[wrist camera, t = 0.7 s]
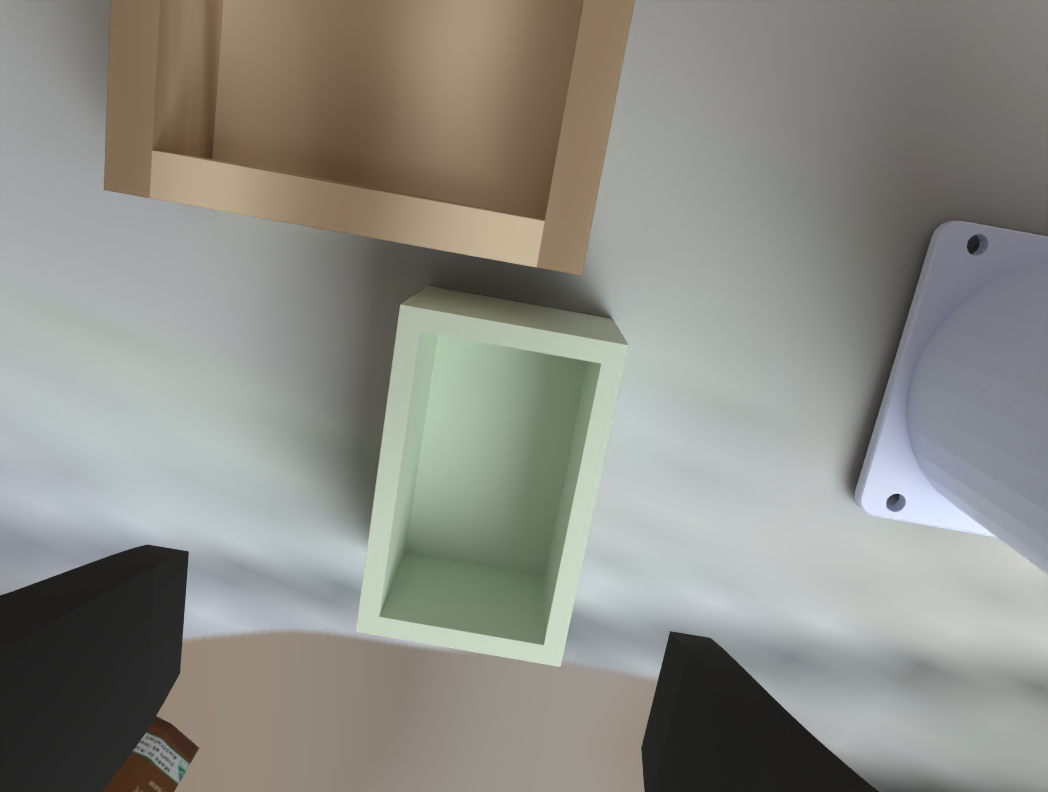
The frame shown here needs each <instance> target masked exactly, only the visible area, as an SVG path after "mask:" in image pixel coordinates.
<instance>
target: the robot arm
mask: <svg viewBox="0 0 1048 792" xmlns="http://www.w3.org/2000/svg"><path fill="white" fill-rule="evenodd" d="M974 235H976V236H977V237H978V238H979V240H980V242H979V247H978V249H977V251H975V252H974V253H972V254H970V253H969V252H968V250H967V242H968V241H969V239H970V238H971V237H972V236H974ZM893 494H899V500H898V501H897V503H896V504H894V505H893V506H886V501H887V499H888V498H889V496H891V495H893ZM854 499H855V502H856V504H857V505H858V506H859V507H860V508H861V509H862V510H863V511H864V512H865V513H866V514H869V515H871V516H876V517H882V518H888V519H893V520H899V521H905V522H910V523H916V524H922V525H927V526H933V527H939V528H944V529H950V530H956V531H961V532H967V533H973V534H979V535H984V536H990V537H996V538H999V539H1000V540H1001V541H1003V542H1004V543H1006V544H1007V545H1008V546H1010V547H1011V548H1012V549H1014V550H1015V551H1016V552H1018V553H1019V554H1021V555H1022V556H1023V557H1025V558H1026V559H1027V560H1029V561H1030V562H1031V563H1033V564H1034V565H1036V566H1037V567H1038V568H1040V569H1041V570H1042V571H1044V572H1045V573H1046V574H1048V236H1043V235H1037V234H1032V233H1026V232H1021V231H1015V230H1010V229H1004V228H999V227H993V226H988V225H982V224H977V223H971V222H966V221H948V222H945V223H943V224H941V225H940V226H939V227H938V228H937V229H936V230H935V232H934V234H933V235H932V238H931V241H930V244H929V248H928V251H927V254H926V258H925V261H924V264H923V267H922V271H921V274H920V277H919V281H918V284H917V287H916V291H915V294H914V297H913V301H912V304H911V307H910V311H909V314H908V317H907V321H906V324H905V327H904V331H903V334H902V337H901V341H900V344H899V347H898V350H897V354H896V357H895V360H894V364H893V367H892V370H891V374H890V377H889V380H888V384H887V387H886V390H885V394H884V397H883V400H882V404H881V407H880V410H879V414H878V417H877V420H876V424H875V427H874V430H873V434H872V437H871V440H870V443H869V447H868V450H867V453H866V457H865V460H864V463H863V467H862V470H861V473H860V477H859V480H858V483H857V487H856V490H855V497H854ZM188 554H189V551H183V550H177V549H171V548H165V547H159V546H153V545H144V546H140V547H136V548H133V549H129V550H126V551H123V552H120V553H117V554H114V555H111V556H108V557H106V558H103V559H100V560H97V561H94V562H92V563H89V564H86V565H84V566H81V567H78V568H75V569H73V570H70V571H67V572H65V573H62V574H59V575H56V576H54V577H51V578H48V579H45V580H43V581H40V582H37V583H35V584H32V585H29V586H26V587H24V588H21V589H18V590H15V591H13V592H10V593H7V594H4V595H1V596H0V792H102V791H103V790H104V789H105V787H106V786H107V785H108V783H109V782H110V781H111V779H112V778H113V777H114V775H115V774H116V773H117V771H118V770H119V769H120V767H121V766H122V765H123V763H124V762H125V761H126V759H127V758H128V757H129V755H130V754H131V753H132V751H133V750H134V749H135V747H136V746H137V745H138V743H139V742H140V741H141V739H142V738H143V736H144V735H145V734H146V732H147V730H148V729H149V727H150V725H151V724H152V722H153V720H154V718H155V717H156V715H157V713H158V712H159V710H160V708H161V707H162V705H163V703H164V701H165V699H166V698H167V696H168V694H169V692H170V690H171V689H172V687H173V685H174V683H175V681H176V679H177V678H178V676H179V674H180V664H181V651H182V637H183V624H184V610H185V596H186V582H187V568H188ZM641 749H642V763H643V777H644V789H645V792H879V791H877V790H876V789H875V788H874V787H872V786H871V785H870V784H869V783H867V782H866V781H865V780H864V779H862V778H861V777H860V776H859V775H858V774H856V773H855V772H854V771H853V770H852V769H851V768H850V767H848V766H847V765H846V764H845V763H844V762H843V761H841V760H840V759H839V758H838V757H837V756H836V755H834V754H833V753H832V752H831V751H830V750H829V749H828V748H826V747H825V746H824V745H823V744H822V743H821V742H820V741H818V740H817V739H816V738H815V737H814V736H813V735H812V734H811V733H810V732H809V731H808V730H806V729H805V728H804V727H803V726H802V725H801V724H800V723H799V722H798V721H797V720H796V719H795V718H794V717H793V716H791V715H790V714H789V713H788V712H787V711H786V710H785V709H784V708H783V707H782V706H781V705H780V704H779V703H778V702H777V701H776V700H775V699H774V698H773V697H772V696H771V695H770V694H769V693H768V692H767V691H766V690H765V689H764V688H763V687H762V686H761V685H760V684H759V683H758V682H757V681H756V680H755V679H754V678H753V677H752V676H751V675H750V674H749V673H748V672H747V671H746V670H745V669H744V668H743V667H741V666H740V665H739V664H738V663H737V662H736V661H735V660H734V659H733V658H732V657H731V656H730V655H729V654H728V653H727V652H726V651H725V650H724V649H723V648H722V647H721V646H719V645H718V644H717V643H716V642H715V641H713V640H712V639H711V638H707V637H701V636H695V635H689V634H683V633H677V632H671V631H670V634H669V638H668V642H667V646H666V650H665V654H664V658H663V662H662V667H661V671H660V675H659V679H658V683H657V687H656V691H655V695H654V699H653V703H652V707H651V711H650V715H649V719H648V723H647V728H646V731H645V735H644V739H643V744H642V748H641Z"/></svg>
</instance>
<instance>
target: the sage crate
mask: <svg viewBox="0 0 1048 792" xmlns="http://www.w3.org/2000/svg"><path fill="white" fill-rule="evenodd" d="M628 346H629V345H628V343H627V342H626V340H625V338H624V337H623V335H622V333H621V332H620V330H619V328H618V327H617V325H616V323H615V322H614V320H613V319H611V318H606V317H600V316H594V315H589V314H583V313H578V312H572V311H566V310H561V309H555V308H550V307H544V306H538V305H533V304H527V303H522V302H516V301H510V300H505V299H499V298H494V297H488V296H482V295H477V294H471V293H466V292H460V291H454V290H449V289H443V288H438V287H432V286H427V287H426V288H424V289H423V290H421V291H420V292H418V293H417V294H415V295H414V296H412V297H411V298H409V299H408V300H406V301H405V302H403V303H402V304H400V310H399V317H398V324H397V332H396V339H395V347H394V354H393V361H392V369H391V376H390V384H389V391H388V398H387V406H386V413H385V421H384V428H383V435H382V443H381V450H380V458H379V465H378V472H377V480H376V487H375V495H374V502H373V509H372V517H371V524H370V532H369V539H368V546H367V554H366V561H365V569H364V576H363V583H362V591H361V598H360V606H359V613H358V621H357V628H356V632H361V633H367V634H372V635H378V636H384V637H390V638H396V639H402V640H407V641H413V642H419V643H425V644H431V645H436V646H442V647H448V648H454V649H460V650H466V651H471V652H477V653H483V654H489V655H495V656H500V657H506V658H512V659H518V660H524V661H530V662H535V663H541V664H547V665H553V666H559V667H561V662H562V657H563V652H564V648H565V643H566V638H567V634H568V629H569V624H570V619H571V615H572V610H573V605H574V601H575V596H576V591H577V586H578V582H579V577H580V572H581V568H582V563H583V558H584V553H585V549H586V544H587V539H588V535H589V530H590V525H591V520H592V516H593V511H594V506H595V502H596V497H597V492H598V487H599V483H600V478H601V473H602V469H603V464H604V459H605V454H606V450H607V445H608V440H609V436H610V431H611V426H612V421H613V417H614V412H615V407H616V403H617V398H618V393H619V388H620V384H621V379H622V374H623V370H624V365H625V360H626V355H627V351H628Z"/></svg>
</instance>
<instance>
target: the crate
mask: <svg viewBox="0 0 1048 792" xmlns="http://www.w3.org/2000/svg"><path fill="white" fill-rule="evenodd" d="M634 1H635V0H111V12H110V39H109V65H108V92H107V119H106V146H105V172H104V190H108V191H113V192H119V193H124V194H130V195H135V196H141V197H147V198H152V199H158V200H163V201H169V202H174V203H180V204H186V205H191V206H197V207H202V208H208V209H213V210H219V211H225V212H230V213H236V214H241V215H247V216H252V217H258V218H264V219H269V220H275V221H280V222H286V223H291V224H297V225H303V226H308V227H314V228H319V229H325V230H330V231H336V232H342V233H347V234H353V235H358V236H364V237H369V238H375V239H381V240H386V241H392V242H397V243H403V244H408V245H414V246H420V247H425V248H431V249H436V250H442V251H448V252H453V253H459V254H464V255H470V256H475V257H481V258H487V259H492V260H498V261H503V262H509V263H514V264H520V265H526V266H531V267H537V268H542V269H548V270H553V271H559V272H565V273H570V274H576V275H581V276H582V272H583V266H584V261H585V256H586V251H587V246H588V240H589V235H590V230H591V225H592V220H593V214H594V209H595V204H596V199H597V194H598V188H599V183H600V178H601V173H602V168H603V162H604V157H605V152H606V147H607V142H608V136H609V131H610V126H611V121H612V116H613V110H614V105H615V100H616V95H617V90H618V84H619V79H620V74H621V69H622V64H623V58H624V53H625V48H626V43H627V38H628V32H629V27H630V22H631V17H632V12H633V6H634Z"/></svg>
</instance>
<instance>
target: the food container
mask: <svg viewBox="0 0 1048 792" xmlns="http://www.w3.org/2000/svg"><path fill="white" fill-rule="evenodd" d="M198 749H199V747H197V746H196V745H195V744H194V743H193V742H192V741H191V740H189V739H188V738H187V737H186V736H185V735H184V734H183V733H181V732H180V731H179V730H178V729H177V728H176V727H174V726H173V725H172V724H170V723H168V722H167V721H165V720H163V719H161V718H159V717H157V716H156V717H155V718H154V720H153V722H152V724H151V725H150V727H149V729H148V730H147V732H146V734H145V735H144V736H143V738H142V739H141V741H140V742H139V743H138V745H137V746H136V747H135V749H134V750H133V751H132V753H131V754H130V755H129V757H128V758H127V759H126V761H125V762H124V763H123V765H122V766H121V767H120V769H119V770H118V771H117V773H116V774H115V775H114V777H113V778H112V779H111V781H110V782H109V783H108V785H107V786H106V787H105V789H104V790H103V791H102V792H174V791H175V789H176V788H177V786H178V784H179V782H180V781H181V779H182V777H183V775H184V774H185V772H186V770H187V769H188V767H189V765H190V763H191V761H192V760H193V758H194V756H195V754H196V753H197V751H198Z"/></svg>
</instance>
